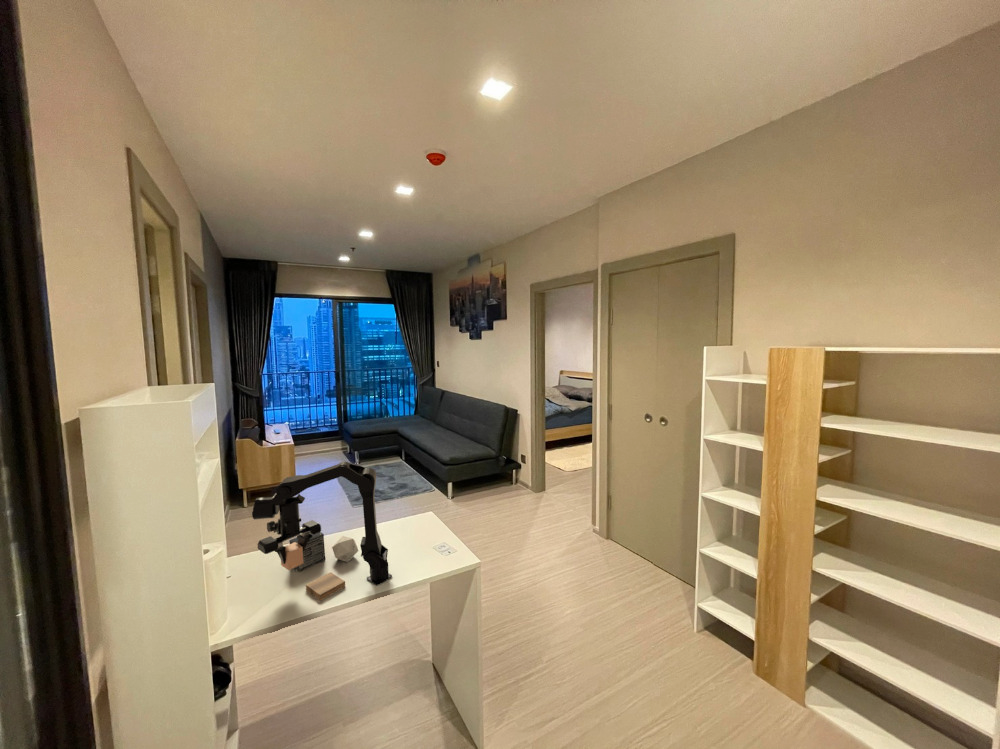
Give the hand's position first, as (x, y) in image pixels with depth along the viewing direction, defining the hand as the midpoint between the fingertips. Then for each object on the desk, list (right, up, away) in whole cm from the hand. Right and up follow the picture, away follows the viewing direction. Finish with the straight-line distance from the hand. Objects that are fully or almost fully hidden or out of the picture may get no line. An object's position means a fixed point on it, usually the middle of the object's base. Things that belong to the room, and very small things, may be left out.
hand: (292, 559), depth 136 cm
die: (+11, -9, +19) cm, 24 cm away
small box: (-3, -9, +17) cm, 19 cm away
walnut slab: (+11, -10, +1) cm, 15 cm away
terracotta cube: (0, -2, 0) cm, 2 cm away
